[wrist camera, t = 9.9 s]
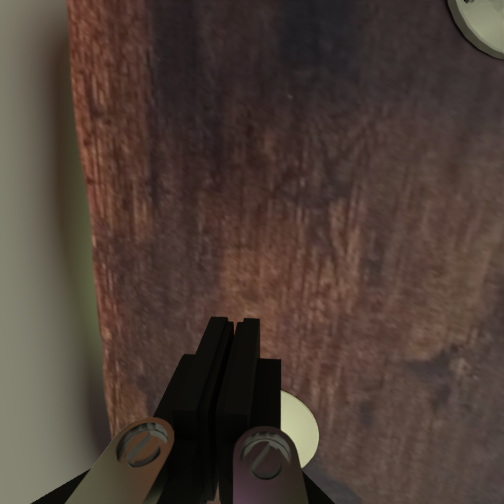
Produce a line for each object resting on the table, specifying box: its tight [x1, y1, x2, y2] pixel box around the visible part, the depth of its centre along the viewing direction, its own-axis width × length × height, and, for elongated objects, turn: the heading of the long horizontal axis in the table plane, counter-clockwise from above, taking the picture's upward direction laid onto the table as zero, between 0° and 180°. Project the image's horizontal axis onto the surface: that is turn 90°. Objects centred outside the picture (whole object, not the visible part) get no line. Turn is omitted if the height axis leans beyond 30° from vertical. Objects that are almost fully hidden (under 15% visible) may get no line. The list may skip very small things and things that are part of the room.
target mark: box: [281, 390, 319, 468], centre depth 33 cm, size 13×13×1 cm
